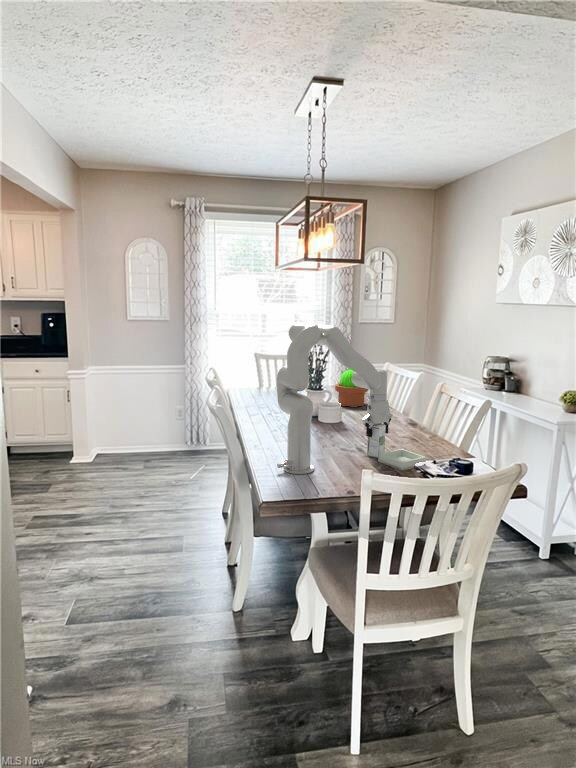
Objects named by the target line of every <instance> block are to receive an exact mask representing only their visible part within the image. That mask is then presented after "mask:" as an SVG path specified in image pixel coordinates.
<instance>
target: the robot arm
mask: <svg viewBox="0 0 576 768" xmlns="http://www.w3.org/2000/svg"><path fill="white" fill-rule="evenodd" d="M288 337H289V340H291V343H290V344H289V347H288V349H287V354H286V365H283V366H281V368H279V370H278V371H277V375H276V395H277V396H276V397H277V404H278V407H279V409H280V410H281V411H282V412H284V413H285V414H288V415H289V418H288V422H287V429H286V430H287V431H286V432H287V453H286V454H287V458H285V459H284V461H283V462H278V463H277V464H276V467H277V469H282V468H283V471H284V472H286V473H288V474H293V475H307V474H310V473H312V472H314V471H315V466H314V465H313V464H312V463H311V452H312V451H311V450H312V449H311V448H312V447H311V444H312V443H311V439H312V438H311V437H312V435H311V434H312V432H311V431H312V429H311V428H312V418H313V413H314V405H313V401H312V400H311V398H310V397H308V396H307V395H305V394H303V393H299V392H302V391H303V392H304V391H305V390H307V388H308V387H309V384H310V375H309V374H310V373H309V372H310V371H309V355H310V352H311V350H312V348H314V347H315V345H319V346H320V345H321V346H326V347H327V349H328V350H329V351H330V353H331V354H332V355H333V357H334V358H335V360H337V362H338V363H339V364H341V365H342V366H344V367H345V368H347V369H351V370H353V371H354V372H355V373H354V374H353V375H352V382H353V384H354V385H356V386H358V387H361V388H366V389H368V391H369V396H368V403H367V409H366V415H365V416H364V417H363V418H362V419H361V421H362V423H363V425H364V427H365V428H366V430H365V432H366V433H365V435H366V437H368V436H369V437H372V428H371V427H372V426H373V424H379V423H382V424H385V425H386V429H385V435H386V434H389V425H390V423H391V421H392V418H393V413H391V412H390V404H389V400H388V372H387V370H385V369H380V368H379V369H378V368H377V369H376V367H375V366H374V365H373V364H372V362H370V361H369V360H368V359H367V358H365V357H364V355H362V354H361V353H360V352H359V351H357V349H355V348H354V346H353V345H352V344H351V342H350V341H349V340H348V338H347V337H346V335H345V334H344V333H343V331H342V330H341V329H340V328H339V327H337V326H335V325H328V324H313V323H307V322H306V323H305V322H304V323H303V322H297V323H294V324H292V325H291V326H290V328H289V330H288Z"/></svg>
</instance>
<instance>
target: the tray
mask: <svg viewBox="0 0 576 768" xmlns="http://www.w3.org/2000/svg"><path fill="white" fill-rule="evenodd" d="M426 461H427V457H426V456H424V455H421V454H419V453H416V452H413V451H410V450H407V449H404V448H399V449H394V450H389V451H384V453H380V454H379V457H378V462H379V463H381V464H383V465H386V466H388V467H391V468H394V469H396V470H399V471H401V472H403V471H407V470H411V468H412V469H414V468H413V467H414V465H415V464H416V463H419V462H426ZM426 463H427V462H426Z"/></svg>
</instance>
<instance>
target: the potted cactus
mask: <svg viewBox="0 0 576 768" xmlns="http://www.w3.org/2000/svg"><path fill="white" fill-rule="evenodd" d="M354 373H355V372H354V371H353V370H351V369H349V368H347V369H346V370H345V371H344V372H343V373H342V374H341V375H340V379H339V383H338V382H337V383H336V384H335V385H334V390H335V392H338V395H337V397H338V400H337V401H338V402H339V403H341V405H343V406H342V407H344V406H361V407H363V406H365V394H366V393H367V392H368V391H369V389H366V388H361V387H358V386H356V385H354V384H353V382H352V375H353V374H354ZM362 405H363V406H362Z"/></svg>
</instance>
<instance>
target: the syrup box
mask: <svg viewBox="0 0 576 768" xmlns="http://www.w3.org/2000/svg"><path fill="white" fill-rule="evenodd" d="M371 428H372V437H369V436H367V447H366V448H367V450H366V453H367V456H369V457H373V458H378V459H379V454H380V453H384V452H385V444H386V443H385V442H386V433H385V429H386V425H385V424H384V423H379V424H373V426H372V427H371Z"/></svg>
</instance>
